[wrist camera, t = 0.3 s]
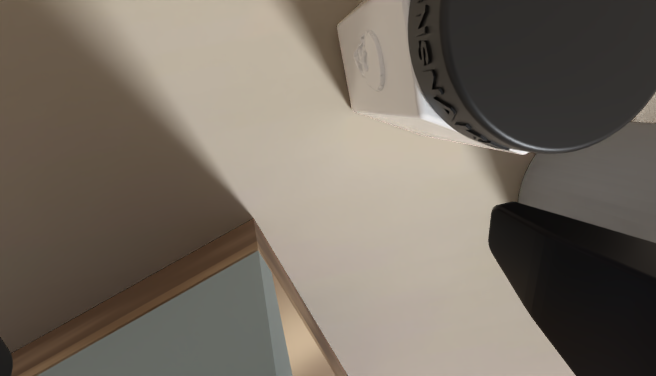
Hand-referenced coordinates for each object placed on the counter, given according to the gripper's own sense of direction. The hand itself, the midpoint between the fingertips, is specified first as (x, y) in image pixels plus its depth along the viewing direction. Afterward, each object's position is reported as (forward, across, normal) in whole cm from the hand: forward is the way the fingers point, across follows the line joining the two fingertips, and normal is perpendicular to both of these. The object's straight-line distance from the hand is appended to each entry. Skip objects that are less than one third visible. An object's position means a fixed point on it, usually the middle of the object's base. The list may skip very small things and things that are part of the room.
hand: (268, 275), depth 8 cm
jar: (+17, -10, +1) cm, 19 cm away
